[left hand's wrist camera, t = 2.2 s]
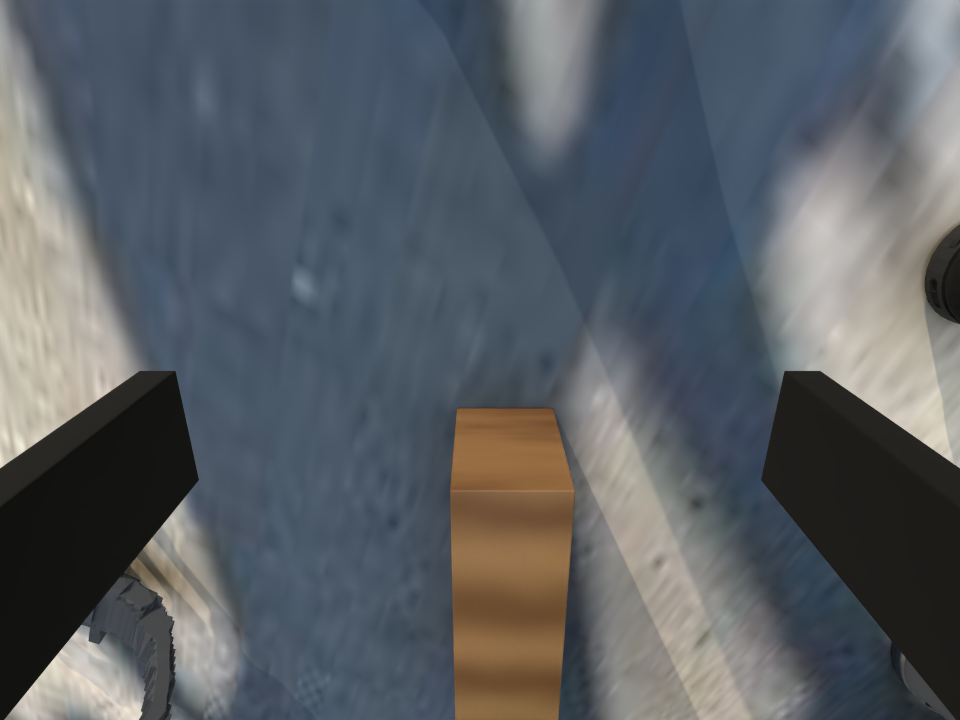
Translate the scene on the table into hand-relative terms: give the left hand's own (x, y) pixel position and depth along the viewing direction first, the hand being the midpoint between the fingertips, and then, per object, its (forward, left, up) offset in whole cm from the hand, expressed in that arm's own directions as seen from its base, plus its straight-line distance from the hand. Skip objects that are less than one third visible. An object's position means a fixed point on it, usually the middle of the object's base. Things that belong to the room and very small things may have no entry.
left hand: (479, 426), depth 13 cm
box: (+27, +9, -28) cm, 40 cm away
